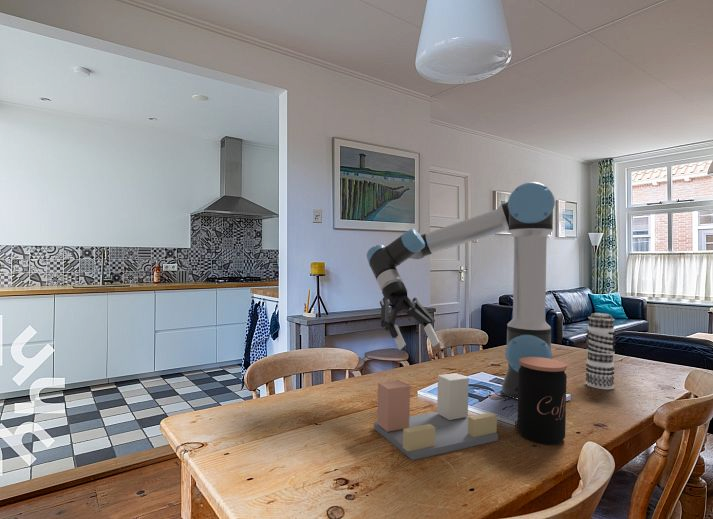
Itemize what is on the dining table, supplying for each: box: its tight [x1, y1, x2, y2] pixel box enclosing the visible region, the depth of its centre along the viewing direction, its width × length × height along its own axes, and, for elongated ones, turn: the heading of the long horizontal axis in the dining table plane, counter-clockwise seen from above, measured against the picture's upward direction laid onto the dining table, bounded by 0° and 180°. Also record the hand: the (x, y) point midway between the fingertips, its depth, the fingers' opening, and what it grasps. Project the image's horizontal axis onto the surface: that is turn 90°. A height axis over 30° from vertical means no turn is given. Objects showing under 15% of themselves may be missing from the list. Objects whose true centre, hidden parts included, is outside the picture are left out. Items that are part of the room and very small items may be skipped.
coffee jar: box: [516, 357, 568, 445], centre depth 97 cm, size 11×11×18 cm
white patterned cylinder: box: [585, 312, 617, 390], centre depth 139 cm, size 9×9×25 cm
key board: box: [373, 411, 499, 461], centre depth 97 cm, size 17×25×6 cm
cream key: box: [436, 372, 470, 420], centre depth 105 cm, size 5×6×10 cm
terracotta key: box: [376, 379, 411, 432], centre depth 97 cm, size 5×6×10 cm
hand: (419, 345), depth 116 cm, fingers open, 13 cm apart
